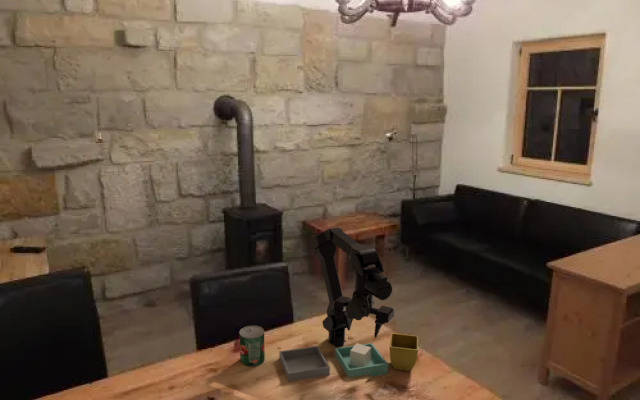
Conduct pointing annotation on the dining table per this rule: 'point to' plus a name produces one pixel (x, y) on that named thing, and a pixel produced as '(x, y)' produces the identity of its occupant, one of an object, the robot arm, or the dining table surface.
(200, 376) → the dining table surface
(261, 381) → the dining table surface
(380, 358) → the teal bin
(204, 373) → the dining table surface
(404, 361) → the flower pot
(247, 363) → the canned tomato
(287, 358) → the charcoal bin
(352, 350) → the stone block
